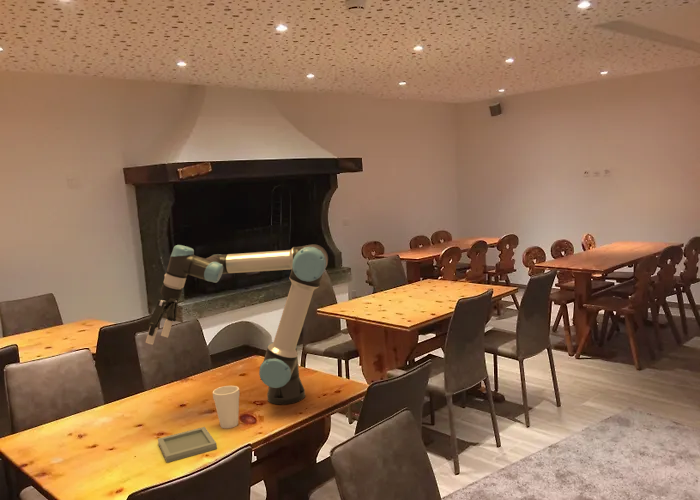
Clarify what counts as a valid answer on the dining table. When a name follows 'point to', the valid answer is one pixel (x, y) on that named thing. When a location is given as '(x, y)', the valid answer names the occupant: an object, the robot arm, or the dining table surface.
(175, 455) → the tray
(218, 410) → the foam cup
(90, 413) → the dining table surface
